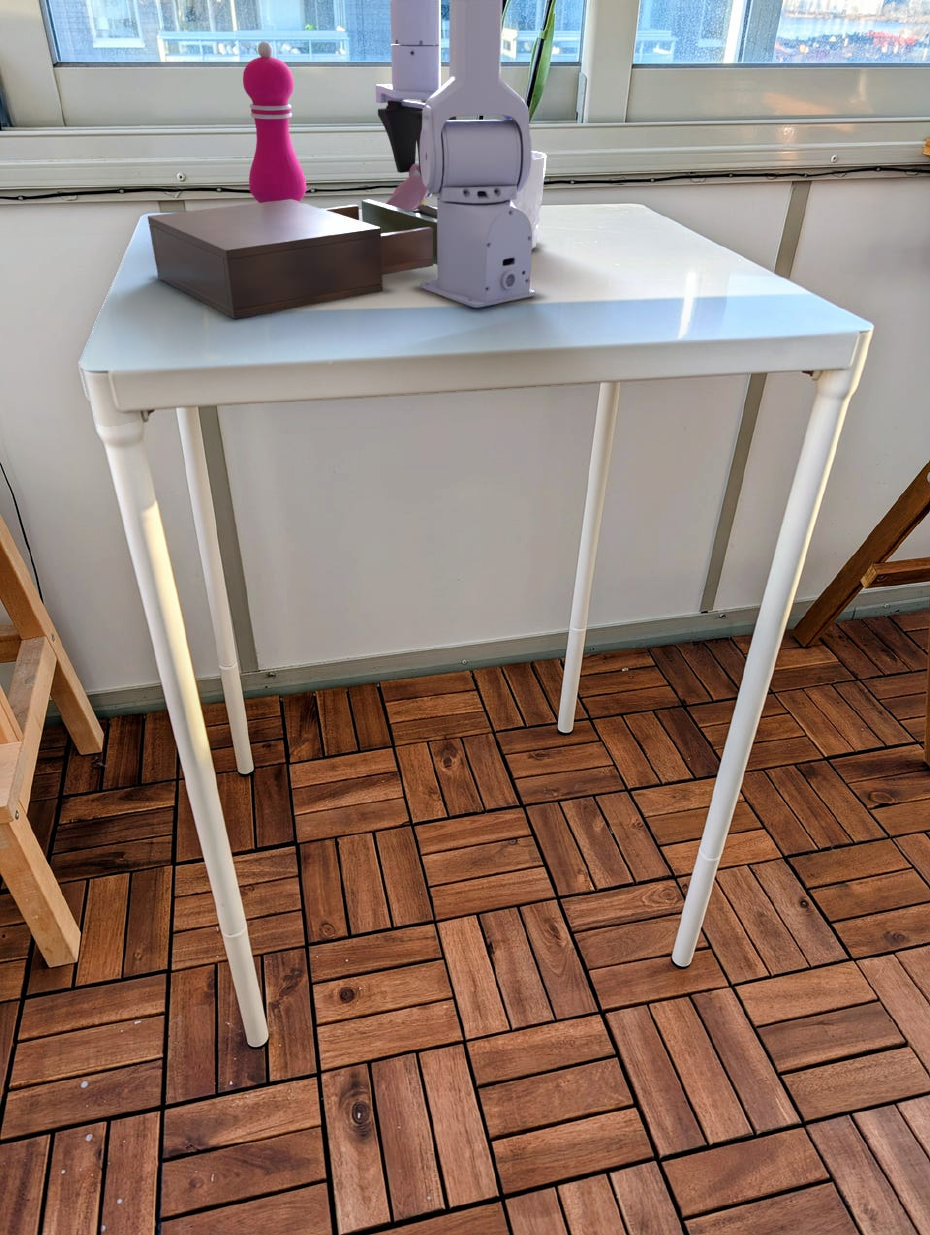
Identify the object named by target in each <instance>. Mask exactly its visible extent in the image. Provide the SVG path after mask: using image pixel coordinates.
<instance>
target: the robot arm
mask: <svg viewBox="0 0 930 1235" xmlns="http://www.w3.org/2000/svg"><path fill="white" fill-rule="evenodd" d="M448 1H449V3H448V6H449V9H448V12H449V13H448V19H449V20H448V22H449V23H448V24H449V25H448V28H449V29H448V30H449V31H448V33H449V34H448V38H449V41H448V42H449V43H448V44H449V46H448V48H449V50H448V51H449V52H448V54H449V56H448V58H449V60H448V61H449V62H448V64H449V66H448V68H449V69H448V70H449V73H448V74H449V75H448V80H447V81H446V82H445V83H443V85H441V56H442V55H441V52H442V50H441V49H442V48H441V42H442V40H441V32H442V31H441V29H442V28H441V27H442V26H441V25H442V24H441V23H442V22H441V21H442V20H441V18H442V17H441V12H442V10H441V9H442V8H441V0H389V16H390V50H391V52H390V53H391V55H390V56H391V57H390V58H391V84H390V83H384V84H383V83H382V84H381V83H379V84H375V103H377V104H387V105H386V106H385V107H382V108H378V109H377V116H378V118H379V120H380V121H381V124H382V125H383V128H384V130H385V132H386V135H387V137H388V140H389V143H390V147H391V151H392V155H393V159H394V163H395V167H396V171H397V173H400V174H403V173H409V170H410V168H411V166H412V165H413V164H415V163H416V157H417V156H418V157H417V158H418V162H419V170H420V175H421V176H422V180H423V184H424V186H425V187H426V188H427V189H428V191H429V192H430V193H431V194H432V195H434V196H435V197H436V208H437V265H436V267H437V268H436V275H437V276H436V279H430V280H425V281H420V283H419V287H420V288H421V289H424V290H426V291H429V292H431V293H434V294H437V295H439V296H442V297H444V298H447V299H450V300H452V301H456V302H458V303H460V304H463V305H466V306H468V307H471V308H474V309H481V308H485V307H490V306H494V305H498V304H503V303H509V302H512V301H516V300H522V299H526V298H531V297H535V296H536V291H535V290H534V289H531V288H530V284H531V268H532V250H533V249H532V228H531V224H530V221H529V219H528V217H527V216H526V214H525V213H524V212H522V211H521V210H519V209H517V208H516V207H515V206H514V205H513V203H512V200H515V199H517V192H518V191H521V190H522V189H523V187H524V185H525V184H526V183H527V181H528V178H529V175H530V170H531V162H532V151H533V148H532V138H531V131H530V110H529V107H528V105H527V103H526V101H525V100H524V99H523V98H522V96H520V94H518V93H517V92H516V91H515V90H514V89H513V88H512V87H511V86H509V85H508V84H507V83H506V82H505V81H504V80H503V79H502V77H501V66H502V62H501V61H502V30H503V29H502V27H503V26H502V25H503V0H448ZM412 100H414V101H412ZM415 100H416V101H415ZM418 101H420V102H418ZM464 116H465V117H473V116H477V117H478V116H480V117H481V116H484V117H485V116H487V117H489V116H491V117H492V116H501V117H503V118H504V119H459V120H458V119H457V117H464Z"/></svg>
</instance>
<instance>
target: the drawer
mask: <svg viewBox="0 0 930 1235" xmlns="http://www.w3.org/2000/svg"><path fill="white" fill-rule="evenodd" d="M323 209H324V210H327V211H330V212H333V213H336V214H339V215H342V216H345V217H349V218H352V219H355V220H358V221H360V207H359V205H357V204H349V205H341V206H333V207H326V208H323ZM361 218H362V219H361V220H362V221H361V222H364V223H367V224H370V225H373V226H376V227H380V228H381V249H382V276H385V275H386V276H387V275H392V274H396V273H402V272H407V271H408V272H409V271H413V270H414V271H415V270H419V269H424V268H429V267H433V266H434V265H436V266H437V207H434V206H430V205H427V204H424V205H423V204H422V205H419V206H418V208H417V209H415V210H408V211H407V210H404V209H401V208H397V207H394V206H390V205H387V204H386V203H383V202H379V201H376V200H373V199H363V200H361Z"/></svg>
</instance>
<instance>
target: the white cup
mask: <svg viewBox="0 0 930 1235" xmlns="http://www.w3.org/2000/svg"><path fill="white" fill-rule="evenodd" d="M546 161H547V155H546V154H545V153H543V152H539V151H535V150H532V162H531V170H530V175H529V178H528V181H527V183H526V184H525V185H524V187H523V189H522V190H521V191H518V192H517V199H515V200H512V203H513V205H514V206H515V207H516V208H517V209H519V210H521V211H522V212H524V213H525V214H526V216H527V217H528V219H529V221H530V224H531V228H532V250H533V249H535V248H536V246H537V240H538V229H539V227H538V225H539V222H540V218H541V217H540V216H541V207H542V200H543V190H544V183H545V182H544V181H545V173H546V172H545V171H546V163H547V162H546Z"/></svg>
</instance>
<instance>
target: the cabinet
mask: <svg viewBox="0 0 930 1235" xmlns="http://www.w3.org/2000/svg"><path fill="white" fill-rule="evenodd" d="M147 222H148V227H149V233H150V238H151V245H152V249H153V256H154V262H155V267H156V274H157V278H158V279H159V280H161V281H163V282H165V283H167V284H168V285H170V286H172V287H174V288H176V289H178V290H180V291H181V292H183V293H185V294H187V295H188V296H191V297H192V298H195V299H196V300H199V302H201V303H204V304H205V305H207V306H209V307H211V308H213V309H215V310H217V311H219V312H220V313H222V314H224V315H226V316H228V317H230V318H232V319H233V320H238V319H243V318H248V317H254V316H259V315H265V314H270V313H276V312H281V311H285V310H290V309H296V308H301V307H307V306H312V305H313V306H314V305H317V304H318V305H319V304H322V303H328V302H334V301H338V300H344V299H349V298H354V297H360V296H365V295H370V294H375V293H380V292H384V287H383V285H384V284H383V275H382V249H381V228H380V227H376V226H373V225H370V224H367V223H364V222H362V221H360V220H359V221H358V220H355V219H352V218H349V217H345V216H342V215H339V214H336V213H333V212H330V211H327V210H324V208H321V207H318V206H314V205H311V204H308V203H305V202H302V201H300V202H299V201H296V200H293V199H288V200H280V201H271V202H263V203H259V202H255V203H248V204H239V205H229V206H221V207H214V208H213V207H212V208H205V209H197V210H196V209H195V210H189V211H180V212H171V213H163V214H156V215H155V214H154V215H147Z"/></svg>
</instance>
